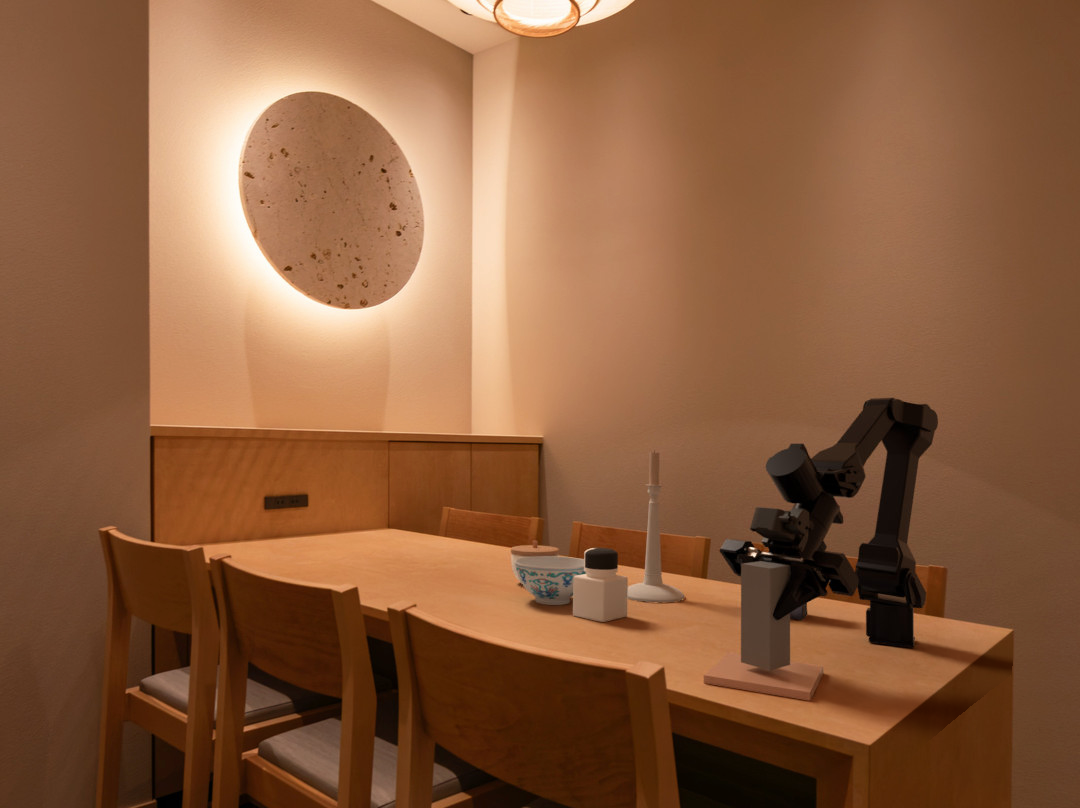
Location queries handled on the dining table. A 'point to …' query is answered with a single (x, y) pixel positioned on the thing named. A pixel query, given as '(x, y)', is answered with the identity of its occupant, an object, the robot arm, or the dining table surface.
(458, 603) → the dining table surface
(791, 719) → the dining table surface
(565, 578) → the chinaware
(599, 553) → the medicine bottle
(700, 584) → the dining table surface
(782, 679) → the terracotta tile
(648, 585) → the candlestick
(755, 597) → the grey block
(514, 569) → the lidded jar
